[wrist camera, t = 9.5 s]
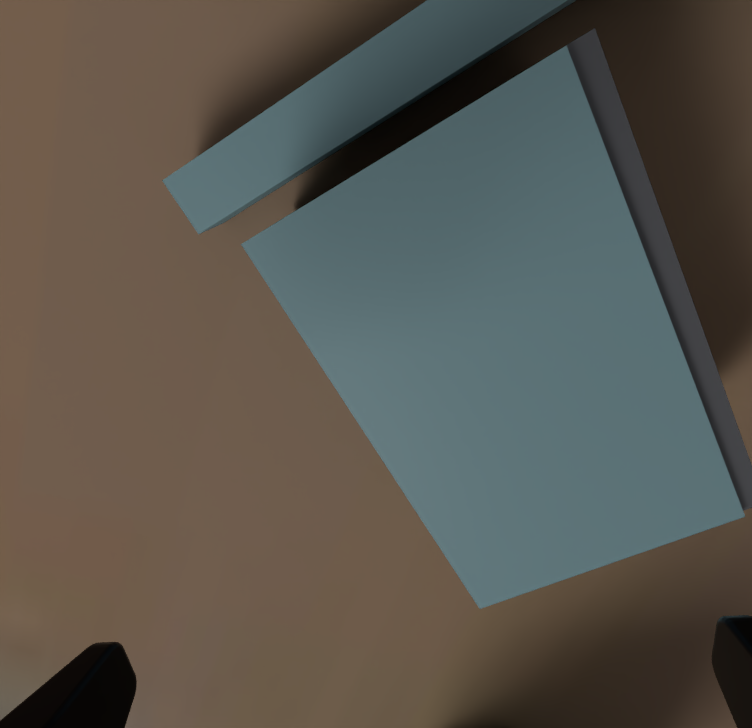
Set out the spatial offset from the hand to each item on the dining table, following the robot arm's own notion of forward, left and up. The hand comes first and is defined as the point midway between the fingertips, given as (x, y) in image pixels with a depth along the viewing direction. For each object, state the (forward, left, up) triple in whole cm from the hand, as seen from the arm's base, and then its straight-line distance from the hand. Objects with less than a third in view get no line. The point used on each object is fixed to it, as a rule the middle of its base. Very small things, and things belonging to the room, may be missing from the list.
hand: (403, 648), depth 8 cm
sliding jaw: (0, -3, -11) cm, 11 cm away
